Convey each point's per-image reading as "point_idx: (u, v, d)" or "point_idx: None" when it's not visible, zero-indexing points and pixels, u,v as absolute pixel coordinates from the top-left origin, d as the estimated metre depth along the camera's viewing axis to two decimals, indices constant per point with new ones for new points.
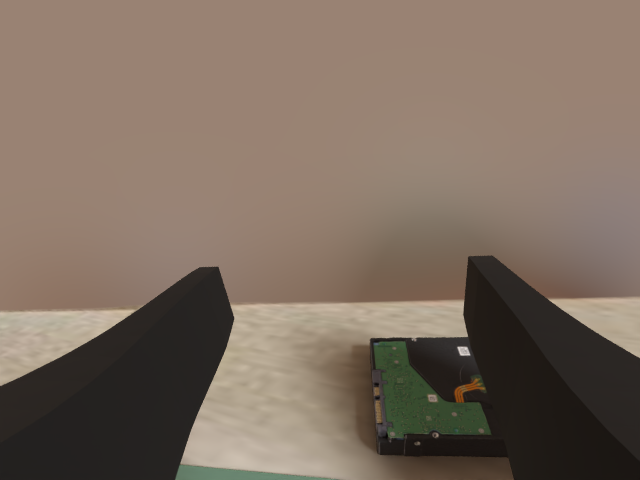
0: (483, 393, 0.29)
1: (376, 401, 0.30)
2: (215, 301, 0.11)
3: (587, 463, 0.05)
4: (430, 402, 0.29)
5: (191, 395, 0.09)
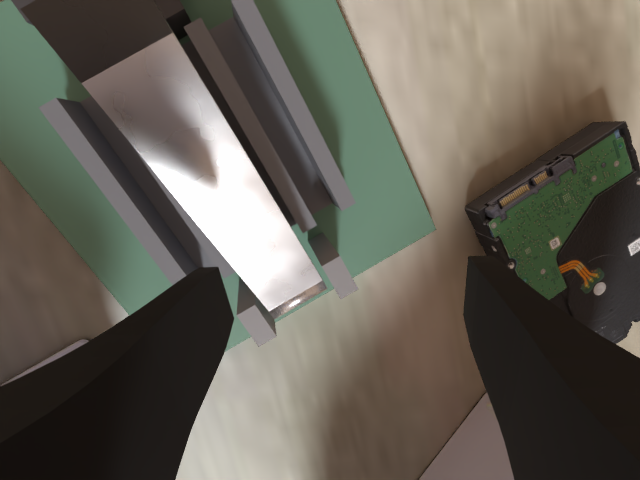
0: (579, 288, 0.25)
1: (526, 185, 0.22)
2: (215, 301, 0.11)
3: (587, 463, 0.05)
4: (548, 243, 0.23)
5: (191, 395, 0.09)
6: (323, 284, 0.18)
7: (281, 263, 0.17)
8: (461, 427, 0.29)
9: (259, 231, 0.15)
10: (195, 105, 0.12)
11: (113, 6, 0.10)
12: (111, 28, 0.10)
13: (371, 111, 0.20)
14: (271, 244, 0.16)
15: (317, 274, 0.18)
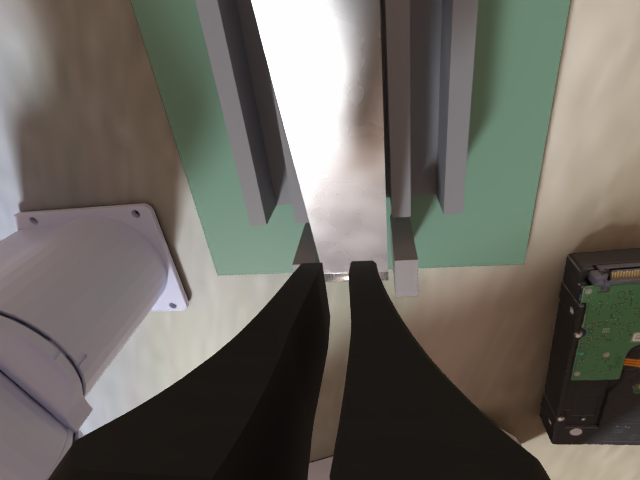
0: (631, 385, 0.23)
1: None
2: (322, 298, 0.10)
3: None
4: (632, 333, 0.21)
5: (311, 397, 0.09)
6: (386, 275, 0.17)
7: (358, 242, 0.16)
8: None
9: (353, 207, 0.14)
10: (358, 61, 0.10)
11: None
12: None
13: (535, 114, 0.17)
14: (358, 223, 0.15)
15: (386, 265, 0.17)
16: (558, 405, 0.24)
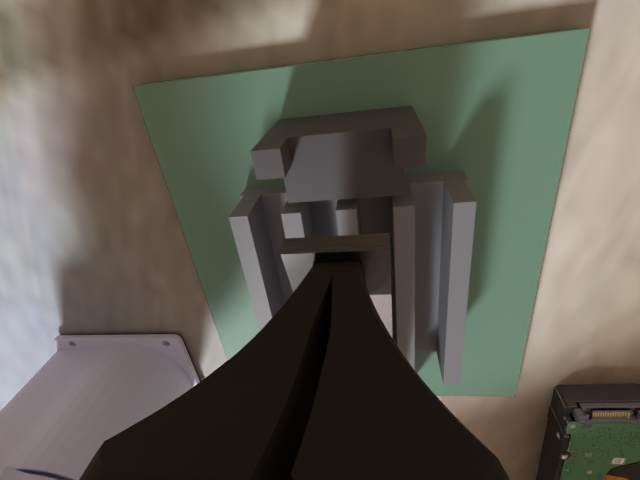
0: None
1: (628, 414, 0.21)
2: None
3: None
4: (612, 458, 0.23)
5: None
6: None
7: None
8: None
9: None
10: None
11: None
12: None
13: (522, 292, 0.19)
14: None
15: None
16: None
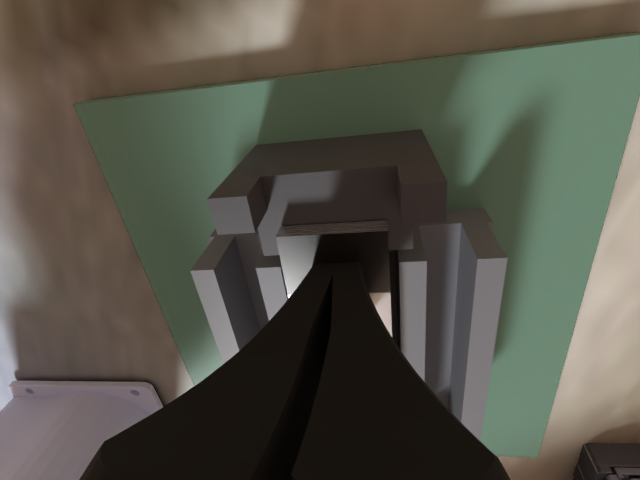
0: None
1: None
2: None
3: None
4: None
5: None
6: None
7: None
8: None
9: None
10: None
11: (352, 259, 0.10)
12: None
13: (552, 348, 0.16)
14: None
15: None
16: None
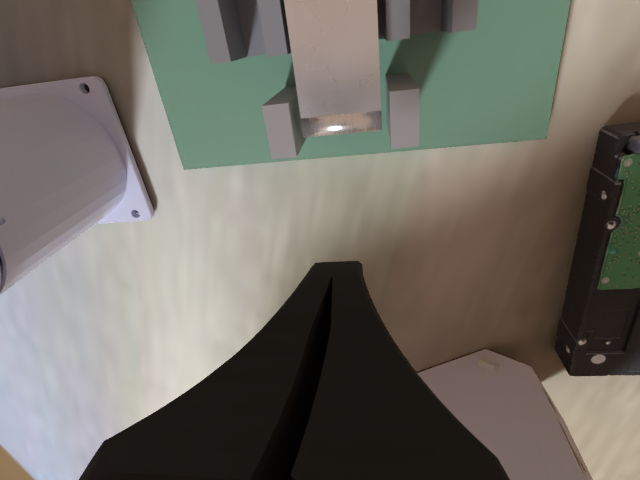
0: None
1: None
2: None
3: None
4: None
5: None
6: (379, 115, 0.14)
7: (343, 47, 0.13)
8: (438, 367, 0.26)
9: None
10: None
11: None
12: None
13: None
14: (343, 6, 0.12)
15: (378, 95, 0.13)
16: (580, 324, 0.21)
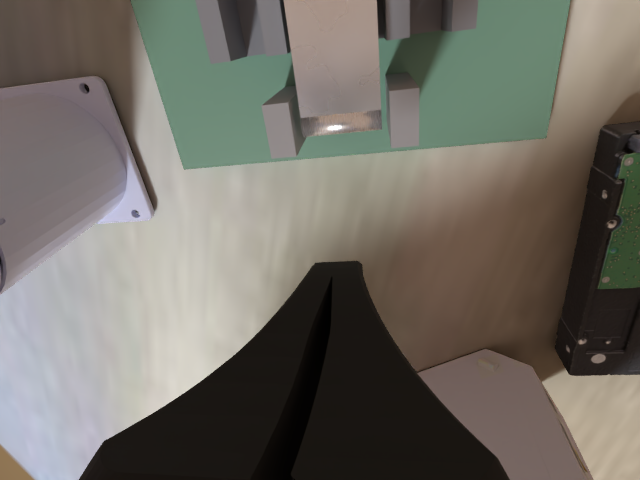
0: None
1: None
2: None
3: None
4: None
5: None
6: (379, 114, 0.14)
7: (343, 46, 0.13)
8: (439, 367, 0.26)
9: None
10: None
11: None
12: None
13: None
14: (343, 5, 0.12)
15: (378, 94, 0.13)
16: (580, 324, 0.21)
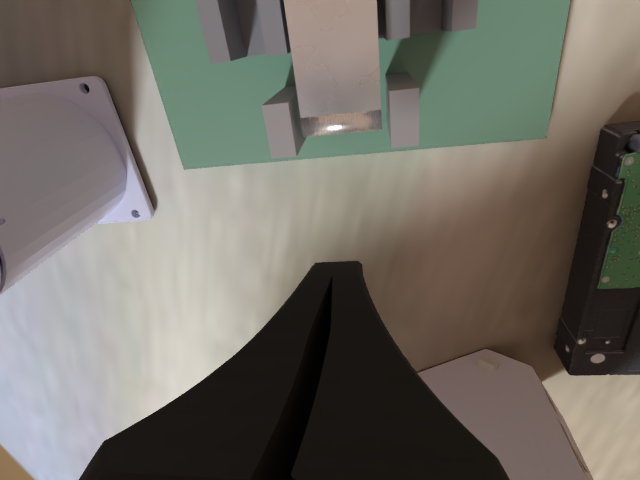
0: None
1: None
2: None
3: None
4: None
5: None
6: (379, 114, 0.14)
7: (343, 46, 0.13)
8: (439, 367, 0.26)
9: None
10: None
11: None
12: None
13: None
14: (343, 5, 0.12)
15: (378, 94, 0.13)
16: (580, 324, 0.21)
